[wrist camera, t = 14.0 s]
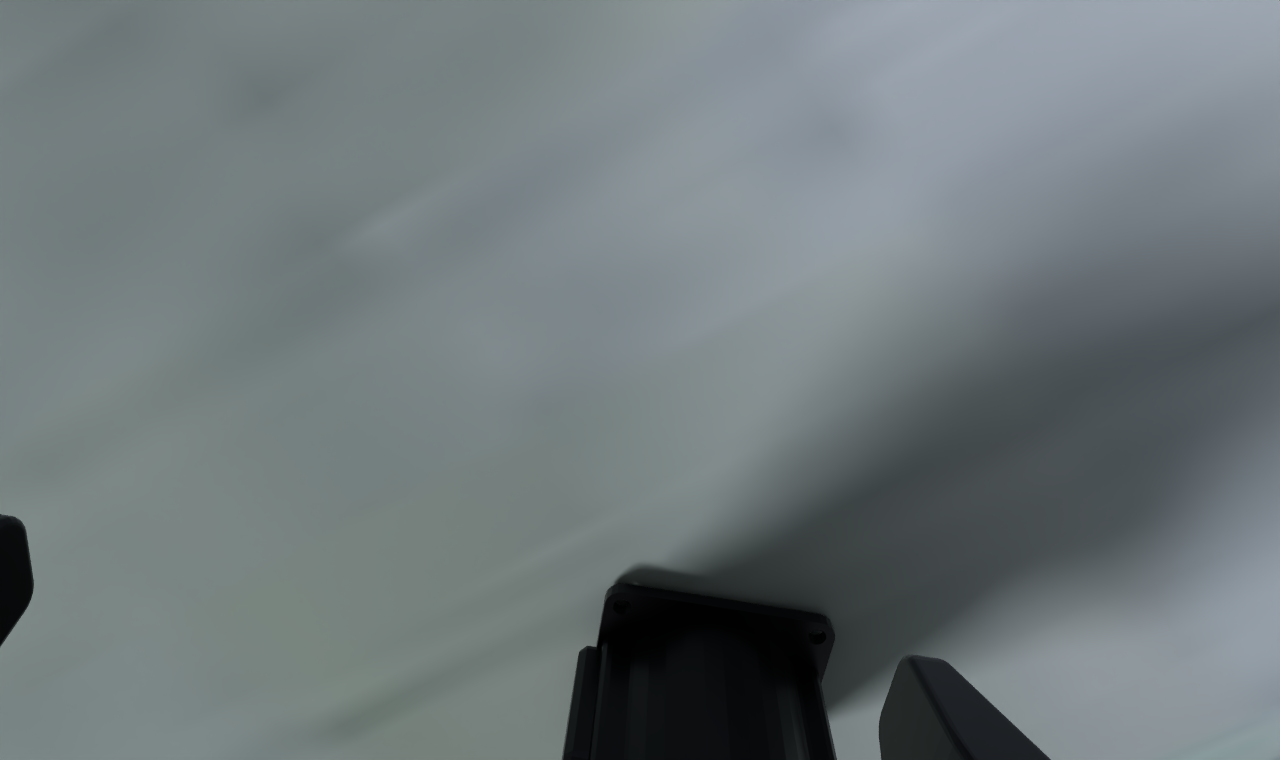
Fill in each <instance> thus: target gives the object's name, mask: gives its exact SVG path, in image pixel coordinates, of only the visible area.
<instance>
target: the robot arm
mask: <svg viewBox="0 0 1280 760" xmlns="http://www.w3.org/2000/svg"><path fill="white" fill-rule="evenodd" d="M33 587H34V580H33V573H32V567H31V560H30V553H29V547H28V540H27V533H26V529H25V526H24V525H23V523H22V522H21V521H20V520H19V519H17V518H16V517H13V516H8V515H2V514H0V647H1V645H2V644H3V642H4V641H5V639H6V638H7V636H8V635H9V634H10V632H11V631H12V629H13V628H14V626H15V625H16V623H17V622H18V621H19V619H20V618H21V616H22V615H23V613H24V612H25V610H26V609H27V607H28V605H29V603H30V600H31V598H32V594H33ZM617 600H626V601H628V602H629V604H627V605H619V604H617V603H616V601H617ZM814 630H821V631H822V633H820V634H818V635H811V634H809V633H810V632H812V631H814ZM834 640H835V633H834V629H833V625H832V623H831V620H830V619H829V618H827V617H826V616H824V615H821V614H817V613H811V612H804V611H798V610H792V609H785V608H779V607H772V606H766V605H760V604H753V603H747V602H740V601H734V600H728V599H721V598H715V597H708V596H702V595H696V594H689V593H683V592H676V591H670V590H664V589H657V588H651V587H644V586H638V585H631V584H616V585H613V586H612V587H611V588H609V589H608V590H607V593H606V595H605V600H604V606H603V612H602V617H601V623H600V629H599V634H598V640H597V646H596V647H592V646H586V647H585V648H584V649H582V650H581V651H580V652H579V656H578V662H577V668H576V674H575V680H574V686H573V692H572V698H571V704H570V710H569V716H568V722H567V729H566V735H565V742H564V748H563V755H562V760H837V758H836V753H835V748H834V744H833V739H832V734H831V729H830V725H829V720H828V715H827V711H826V706H825V701H824V697H823V692H822V687H821V682H822V679H823V675H824V672H825V669H826V666H827V663H828V659H829V656H830V653H831V650H832V647H833V644H834ZM879 742H880V750H881V759H882V760H1051V759H1050V758H1049V757H1047V756H1046V755H1045V754H1044V753H1043V752H1042V751H1041V750H1040V749H1039V748H1038V747H1037V746H1036V745H1035V744H1034V743H1033V742H1032V741H1031V740H1029V739H1028V738H1027V737H1026V736H1025V735H1024V734H1023V733H1022V732H1021V731H1020V730H1019V729H1018V728H1017V727H1016V726H1015V725H1014V724H1012V723H1011V722H1010V721H1009V720H1008V719H1007V718H1006V717H1005V716H1004V715H1003V714H1002V713H1001V712H1000V711H999V710H998V709H997V708H996V707H994V706H993V705H992V704H991V703H990V702H989V701H988V700H987V699H986V698H985V697H984V696H983V695H982V694H981V693H980V692H979V691H978V690H976V689H975V688H974V687H973V686H972V685H971V684H970V683H969V682H968V681H967V680H966V679H965V678H964V677H963V676H962V675H961V674H959V673H958V672H957V671H956V670H955V669H954V668H953V667H952V666H951V665H950V664H949V663H947V662H946V661H944V660H942V659H938V658H931V657H925V656H918V655H907V656H905V657H903V658H902V660H901V661H900V663H899V665H898V667H897V670H896V673H895V675H894V678H893V681H892V684H891V687H890V689H889V692H888V695H887V698H886V701H885V703H884V706H883V709H882V712H881V716H880V721H879Z"/></svg>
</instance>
